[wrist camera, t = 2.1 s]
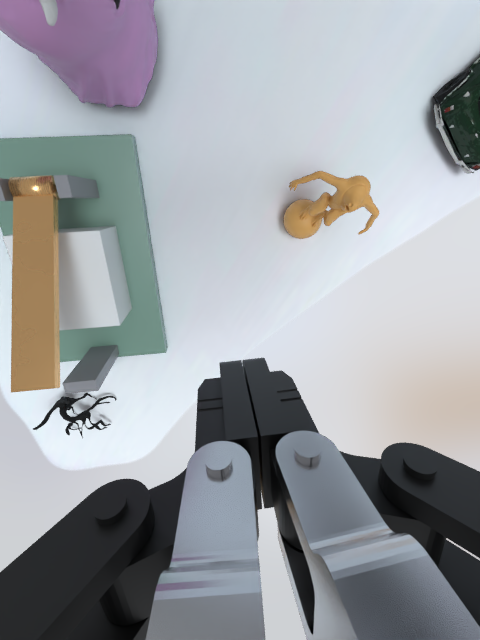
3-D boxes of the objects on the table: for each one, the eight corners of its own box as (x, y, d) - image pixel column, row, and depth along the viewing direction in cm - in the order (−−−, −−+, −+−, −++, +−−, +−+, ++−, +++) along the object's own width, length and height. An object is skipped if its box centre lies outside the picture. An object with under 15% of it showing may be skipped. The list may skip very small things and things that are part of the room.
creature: (130, 399, 42) (80, 371, 37) (127, 431, 37) (70, 403, 33) (91, 431, 43) (38, 406, 39) (84, 465, 38) (23, 442, 34)
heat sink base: (-18, 142, 28) (-112, 118, 20) (134, 137, 29) (106, 112, 21) (52, 357, 37) (7, 403, 28) (167, 347, 38) (156, 388, 30)
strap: (23, 185, 25) (8, 172, 23) (61, 184, 25) (49, 170, 23) (22, 390, 23) (5, 393, 21) (63, 386, 23) (50, 388, 21)
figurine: (257, 215, 33) (282, 223, 22) (285, 162, 31) (329, 142, 20) (316, 251, 35) (367, 275, 24) (346, 204, 34) (415, 206, 22)
